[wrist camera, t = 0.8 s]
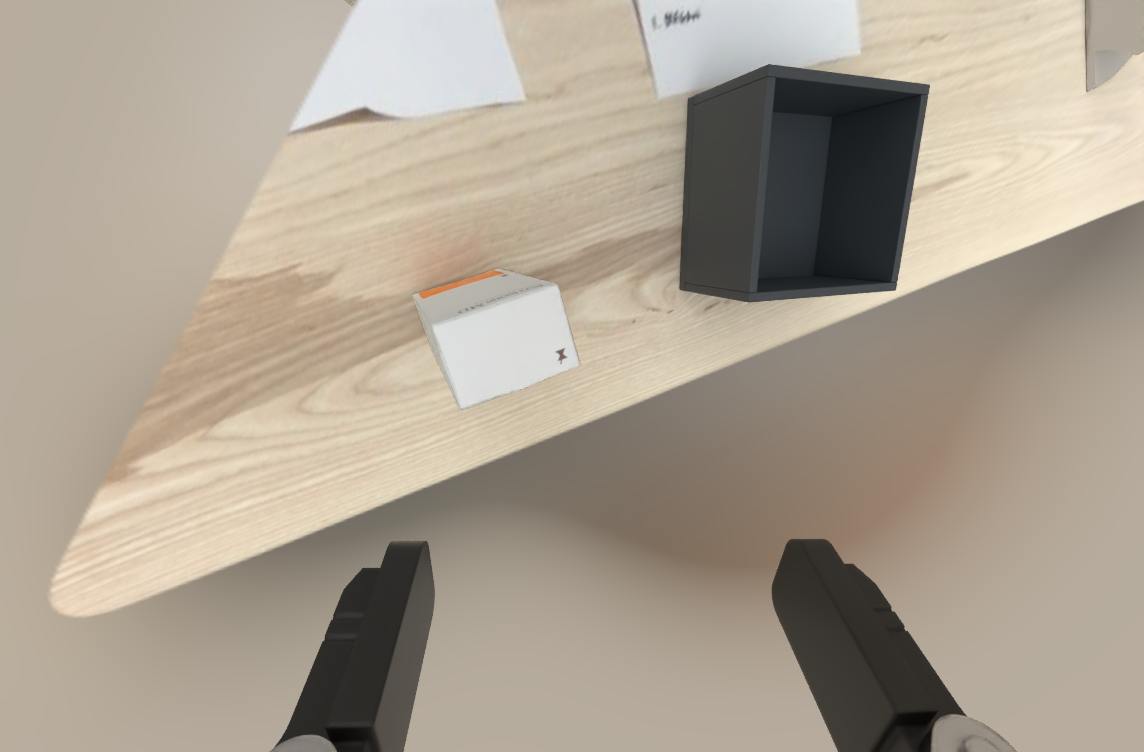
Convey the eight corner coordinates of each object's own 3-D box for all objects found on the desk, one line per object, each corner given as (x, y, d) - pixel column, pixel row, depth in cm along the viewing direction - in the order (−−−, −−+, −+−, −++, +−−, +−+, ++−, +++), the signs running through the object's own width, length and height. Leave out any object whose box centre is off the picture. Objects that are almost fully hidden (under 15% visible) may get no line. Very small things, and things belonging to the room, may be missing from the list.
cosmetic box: (498, 265, 33) (562, 280, 22) (517, 326, 34) (585, 368, 23) (407, 293, 31) (428, 324, 20) (431, 355, 33) (461, 415, 22)
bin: (687, 98, 34) (768, 64, 28) (830, 111, 39) (930, 84, 32) (679, 289, 38) (748, 302, 31) (810, 281, 43) (896, 290, 36)
